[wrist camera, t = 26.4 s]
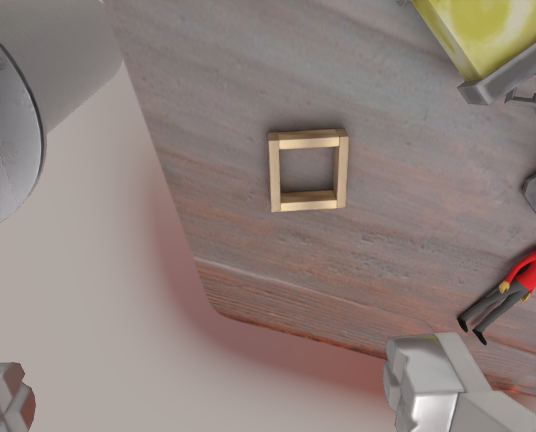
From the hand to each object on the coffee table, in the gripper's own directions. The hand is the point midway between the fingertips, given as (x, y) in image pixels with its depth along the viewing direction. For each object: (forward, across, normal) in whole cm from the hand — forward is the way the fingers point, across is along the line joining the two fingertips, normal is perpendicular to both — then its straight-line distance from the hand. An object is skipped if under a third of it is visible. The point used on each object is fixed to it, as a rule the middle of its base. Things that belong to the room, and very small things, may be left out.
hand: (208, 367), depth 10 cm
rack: (+37, -7, +11) cm, 39 cm away
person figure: (+37, -34, +28) cm, 58 cm away
